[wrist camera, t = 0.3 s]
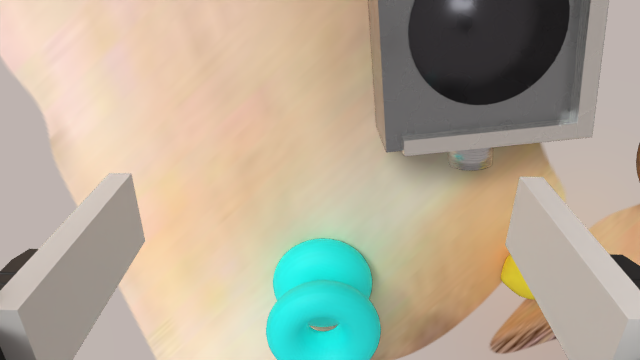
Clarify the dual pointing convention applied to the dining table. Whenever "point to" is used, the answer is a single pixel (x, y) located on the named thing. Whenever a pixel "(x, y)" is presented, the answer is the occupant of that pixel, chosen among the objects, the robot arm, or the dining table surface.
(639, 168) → the oil lamp
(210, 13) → the dining table surface
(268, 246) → the dining table surface
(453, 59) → the gray open-top box
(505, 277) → the lemon
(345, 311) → the donuts
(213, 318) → the dining table surface
